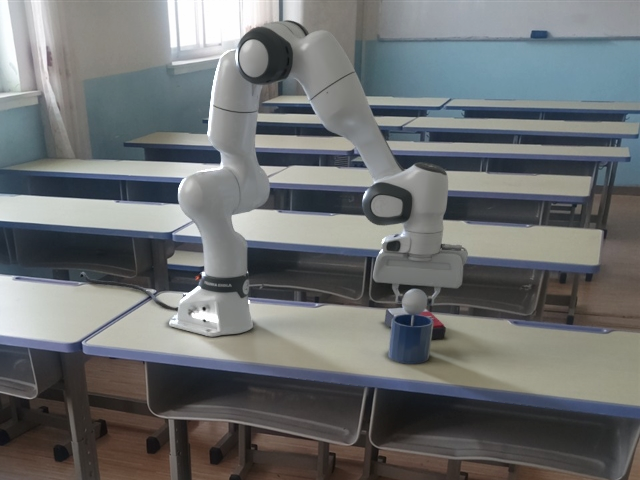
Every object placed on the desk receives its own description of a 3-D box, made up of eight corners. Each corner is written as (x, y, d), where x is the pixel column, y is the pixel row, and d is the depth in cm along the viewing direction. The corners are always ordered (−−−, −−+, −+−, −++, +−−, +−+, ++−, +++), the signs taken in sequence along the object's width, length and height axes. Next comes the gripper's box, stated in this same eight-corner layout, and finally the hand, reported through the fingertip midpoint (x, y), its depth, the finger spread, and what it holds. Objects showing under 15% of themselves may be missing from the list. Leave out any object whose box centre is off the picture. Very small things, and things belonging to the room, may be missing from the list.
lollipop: (409, 345, 197) (416, 284, 189) (426, 352, 193) (435, 290, 185) (390, 350, 194) (397, 288, 186) (408, 357, 190) (415, 294, 182)
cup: (383, 360, 192) (387, 323, 187) (395, 347, 200) (398, 311, 195) (422, 366, 189) (427, 329, 184) (433, 353, 196) (437, 317, 191)
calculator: (406, 327, 201) (385, 306, 213) (403, 343, 203) (384, 322, 215) (447, 324, 202) (424, 304, 214) (444, 340, 205) (422, 319, 217)
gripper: (469, 242, 180) (460, 303, 187) (378, 236, 184) (373, 296, 192) (468, 248, 175) (459, 311, 182) (374, 242, 179) (369, 304, 187)
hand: (414, 303), depth 187 cm, fingers closed on lollipop, 6 cm apart
